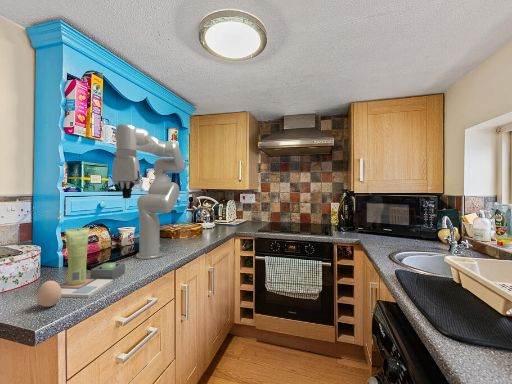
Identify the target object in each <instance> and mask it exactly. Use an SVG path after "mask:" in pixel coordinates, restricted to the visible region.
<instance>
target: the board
mask: <svg viewBox="0 0 512 384" xmlns="http://www.w3.org/2000/svg"><path fill="white" fill-rule="evenodd" d="M113 282H114V280H112V279H91V278H87V277H86V281H85V282H84V283H81V284H77V285H70V284H69V281H67V282H65V283H63V284H60V285H59V286H60V287H61V291H62V293H61V297H60V298H76V299H77V298H78V299H79V298H80V299H83V298H84V299H88V298H89V299H90V298H91V297H92V296H95V293H96V294H97V293H98V292H100V291H102V290H104V289H105V288H107V287H108V286H109V285H111V284H113Z"/></svg>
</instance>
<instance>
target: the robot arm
mask: <svg viewBox="0 0 512 384" xmlns="http://www.w3.org/2000/svg"><path fill="white" fill-rule="evenodd" d="M114 136H115V137H114V138H115V141H116V145H115V146H116V148H115V149H116V150H115V151H114V152H113V155H114V156H115V157H114V158H113V161H112V162H113V163H112V169H111V179H112V181H113V184H115V185H118V186H120V188H121V191H122V199H131V197H132V189H133V187H135V186H138V185H140V180H141V168H140V162H139V158H137V157H138V156H137V151H140V152H143V153H149V154H150V155H153V156H155V157H159V158H157V159H156V160H155V161H154V163H153V169H154V171H153V172H154V176H155V177H154V180H153V181H152V183H151V185H149V188H148V191H147V193H145V194H142V195H140V196H139V197H138V199H137V201H136V203H137V210H138V220H139V225H138V226H139V227H138V229H139V230H138V233H139V234H138V236H139V239H138V240H139V241H138V243H139V244H138V245H139V246H138V247H139V248H138V249H139V250H138V251H139V252H137V253H136V254H135V258H137V259H139V260H151V259H152V260H153V259H157V258H160V257H162V256H163V251H162V250H160V248H161V247H162V244H161V243H160V237H161V236H160V235H161V234H160V229H161V228H160V227H161V226H160V219H159V217H158V215H157V214H168V213H171V212H172V211H173V209H174V208H175V206H176V203H177V201H178V198H179V196H180V186H179V184H177V183H176V182H174V181H172V182H171V179H170V177H169V175H168V174H170V173H171V174H172V173H174V174H179V173H182V172H183V171H184V170H185V162H184V161H185V160H184V159H183V155H182V152H181V149H180V147H179V145H178V143H177V142H176V141H162V140H160V139H159V138H157V137H155V136H152V135H150V133H149V130H147V129H145V128H141V127H140V128H139V127H136V126H134V125H131V124H127V123H126V124H125V123H121V124H117V125H116V129H115V134H114ZM167 173H168V174H167Z"/></svg>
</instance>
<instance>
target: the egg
mask: <svg viewBox="0 0 512 384" xmlns="http://www.w3.org/2000/svg"><path fill="white" fill-rule="evenodd" d="M60 286H61V285H60V284H59V283H58V282H56V281H54V280H47V281H45V282H44V283H42V284H41V286H40V287H39V289H38V291H37V292H36V302H37V303H38V304H39V305H40V306H41V307H44V308H50V307H52V306H54V305H55V304H57V303H58V302H59V301H60V300H61V298H62V297H61V293H62V291H61V287H60Z"/></svg>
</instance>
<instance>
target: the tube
mask: <svg viewBox="0 0 512 384" xmlns="http://www.w3.org/2000/svg"><path fill="white" fill-rule="evenodd" d="M64 234H65V239H66V240H65V242H66V250H67V265H68V282H69V284H70V285H77V284H81V283H84V282H85V281H86V278H87V258H88V257H87V255H88V244H89V243H88V242H89V237H90V236H89V235H90V227H81V228H74V229H73V228H72V229H70V228H69V229H64Z"/></svg>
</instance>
